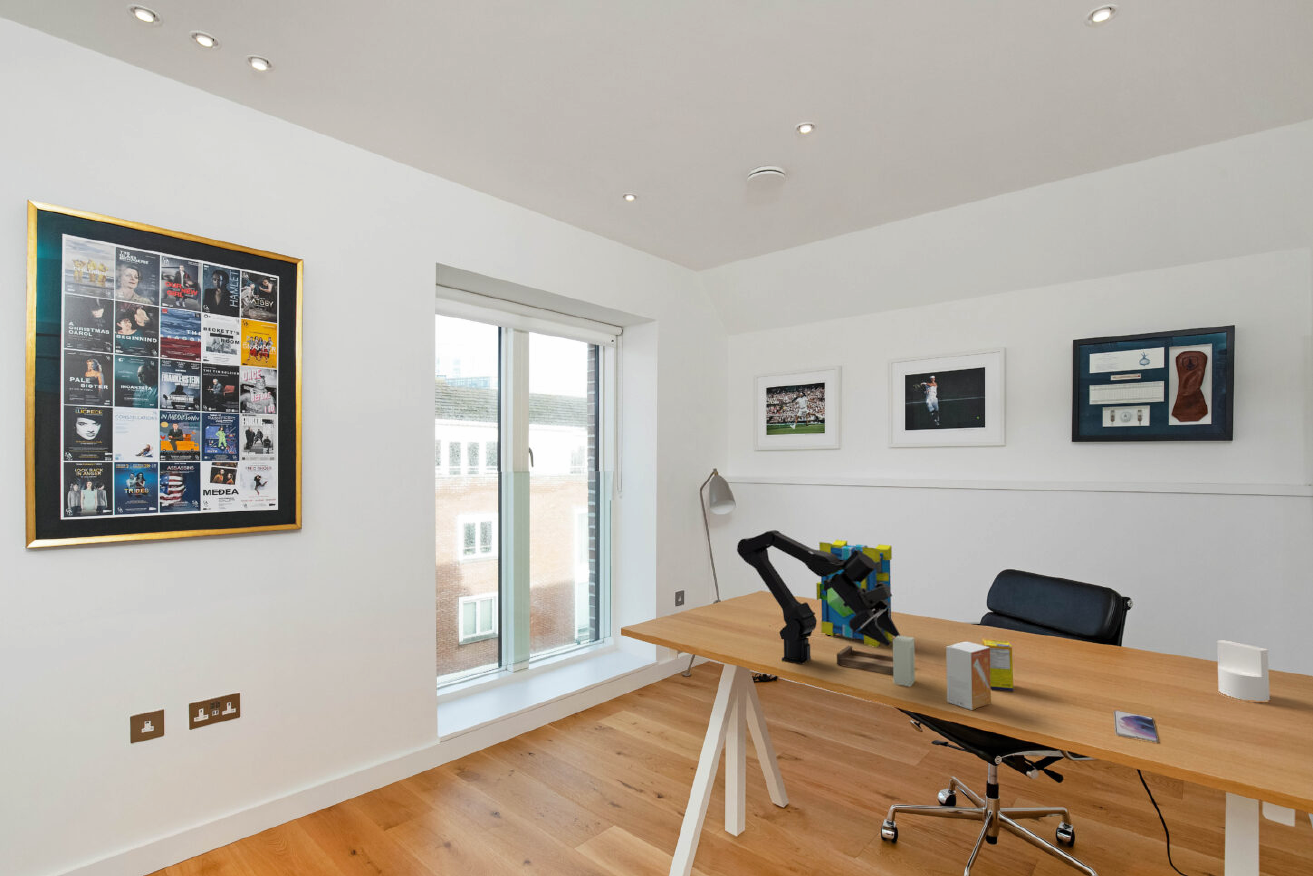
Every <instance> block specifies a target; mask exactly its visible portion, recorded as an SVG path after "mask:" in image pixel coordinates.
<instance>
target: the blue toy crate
mask: <svg viewBox="0 0 1313 876" xmlns="http://www.w3.org/2000/svg"><path fill="white" fill-rule="evenodd" d="M892 549H893V548H892V545H889V544H881V543H880V544H877V546H876V547H869V546H868V545H866V544H859V543H858V544H855V545H850V544H848V540H842V539H835V541H834V542H833V543H831V542H823V541H822V542H821V541H819V550H820V551H825V552H828V553H832V554H834V555H836V556H837V557H838V558H839V559H842V560H847V559H848V558H849V557H850V556H851V555H852V553H853V552H854V551H855V550H860V551H861V553H864V554H866V555H867V556H868V557H871V558H872V559H873V561H874V562H875V564H876V569H875V570H874V571H873V572H872V573H871V574H870V575H869V576H868V577H867V578H865V579H864V580H863V581H862V582H855V583H856V584H857V585H858V586H859V587H860V588H861V589H862V588H865V589H866V590H867V591H870V590H873V589H875V586H876V584H878V583H880V582H883V583H884V584H885V585H886V584H887V585H888V587H890V588H891V586H892V585H891V560H893V558H892V556H893V555H892ZM843 571H844V570H839V571H838V572H837V573H835V574H841V573H842V572H843ZM835 574H832V575H829V576H825V577H820V582H819V581H818V582H816V583H815V586H816V601H819V600H821V620H820V624H821V625H820V629H821V632H820V634H821V633H825V634H828V635H831V636H833V637H835V635H837V634H838V635H842V636H843V637H844V638H849V639H853V640H855V639H858V640H863V645H864V644H867V645H871V646H874V647H873V648H876V647H877V648H878V647H879V645H880V644H881V643H880V642H878V641H876V640H874V639H872V638H870V637H867V636H865V635H863V634H860V633H858V631H859V630H860V629H861V628H859V629H858V630H857V631H855V632H854V631H853V630H852V629H851V628H850V627H849V621H850V620H851V619H852V618H853V617H854V616H855V615H856V614H855V613H854V612H853V611H852V610H851V609H850V608H849V607H848V606H847V607H845V606H844V605H843V604H844V603H845V602H844V601H843V600H842V599H841V598H840V597H839V596H838V594H837V593H836V592H835V591H834V590H833V589H832V588H830V589H829V590H827V591H824V581H825V580H827V579H828V580H830V579H831V578H832V577H833V576H834V575H835ZM891 590H892V589H890V592H891ZM891 593H892V592H891ZM891 598H892V596H890V597H889V598H888V599H886V600H887V601H888V602H889V603H890V606H888V607H887V608H889V607H891V609H890V617H891V618H892V603H891V602H892V599H891ZM887 608H886V609H887ZM880 629H881V630H882V632H883V633H884V634H885V636H886V637H887V639H888V640H889V642H890V643H893V635H891V634H890V633H888V632H887V631H885V630H883V629H882V628H880ZM867 645H866V646H867ZM871 646H870V647H871Z"/></svg>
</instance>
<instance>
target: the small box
mask: <svg viewBox="0 0 1313 876" xmlns="http://www.w3.org/2000/svg"><path fill="white" fill-rule="evenodd" d="M945 649H946V651H945V652H946V654H945V655H946V699H947V701H946V702H947V703H949V704H952V705H955V706H958V707H962V708H964V709H967V710H971V711H973V710H975V709H977V708H981V707H984V706H986V704H987V705H990V704H992V693H991V692H992V691H991V690H992V689H991V674H990V647H987V646H983V644H979V643H974V642H970V641H962V642H957V643H954V644H951V645H947V646H946V648H945ZM989 703H990V704H989Z"/></svg>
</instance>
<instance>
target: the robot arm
mask: <svg viewBox="0 0 1313 876" xmlns="http://www.w3.org/2000/svg"><path fill="white" fill-rule="evenodd" d="M772 547H774V549H775V548H776V549H778V550H779V551H782V553H785V554H787V555H789V556H790V557H792V558H795V559H797V560H798V561H801V562H802V563H803V564H805V566H806V567H807V569H809V570H810V571H811V572H812V573H813V574H815V575H816V576H818V577H820V578H821V577H825V576H829V575H832V574H835V573H837V572H838V571H839V570H844V571H843V572H842V573H841V574H835V575H834V576H833V577H832V578H831V579H830V580H828V579H827V580H825V581H824V591H827V590H829V589H830V588H832V589H833V590H834V591H835V592H836V593H837V594H838V596H839V597H840V598H841V599H842V600H843V601H844V602H845V603H844V604H843V605H844V606H845V607H847V606H848V607H849V608H850V609H851V610H852V611H853V612H854V613H855V614H856V615H855V616H854V617H853V618H852V619H851V620H850V621H849V627H850V628H851V629H852V630H853V631H854V632H855V631H857V630H858V629H859V628H861V629H860V630H859V631H858V633H860V634H863V635H865V636H867V637H870V638H872V639H874V640H876V641H878V642H880V644H882V645H883V646H886V647H889V646H890V645H891V642H890V641H889V640H888V639H887V637H886V636H885V634H884V633H883V632H882V630H881V629H880V628H882V629H883V630H885V631H887V632H888V633H890V634H891V635H892V637H894V638H895V637H897V636H898V635H899V636H901V634H900V633H899V630H898V629H897V626H896V625H895V623H894V621H893V619H892V616H891V617H890V609H891V610H892V606H891V607H889V608H887V607H888V606H890V603H889V602H888V601H887V600H886V599H888V598H889V597H890V596H891V597H893V595H892V592H890V589H891V588H890V587H888V585H887V584H886V585H885V584H884V583H883V582H880V583H878V584H876V586H875V589H873V590H870V591H867V590H866V589H865V588H862V589H861V588H860V587H859V586H858V585H857V584H856V583H855V582H862V581H863V580H864V579H865V578H867V577H868V576H869V575H870V574H871V573H872V572H873V571H874V570H875V569H876V564H875V562H874V561H873V559H872V558H871V557H868V556H867V555H866V554H864V553H861V551H860V550H855V551H854V552H853V553H852V555H851V556H850V557H849V558H848V559H847V560H842V559H839V558H838V557H837V556H836V555H834V554H832V553H828V552H825V551H820V549H814V548H811V547H809V546H807V545H805V544H803V543H801V542H799V541H797V540H795V539H793V538H791V537H789V536H787V535H785V534H783V533H781V532H780V531H778V530H776V529H773V530H767V531H765V532H763V533H761V534H758V535H756V536H754V537H746V538H742V539H740V540H739V541H738V543H737V547H736V551H737V554H738V555H739V556H740V558H742V560H743V561H744V562H745V563H747V564H748V565H749V566H751V567H752V568H754V569H755V570H756V572H757V574H758V575H759V577H760V578H761V579H762V581H763V583H764V584H765V585H766V587H767V589H768V590H769V591H770V593H771V594H772V596H773V598H774V599H775V601H776V602H777V604H778V605H779V606H780V608H781V609H782V615H783V621H784V623H785V625H784V627H782V629H780V631H779V635H780V639H781V640H783V657H781V661H784V660H785V662H791V663H794V662H796V664H799V665H800V664H802V665H803V663H804V664H805V663H806V662H808V661H810V660H812V656H811V644H810V643H809V637H811V636H812V633H813V631H815V629H816V627H817V618H816V616H815V615H816V613H815V612H814V611H813V610H812V609H811V607H810V605H809V603H808V602H803V603H802V602H800V601H798V600H797V599H796V597H795V596H794V594H793V593H792V591H791V590H790V589H789V587H788V585H787V584H786V583H785V582H784V580H783V579H782V577H781V576H780V574H779V572H778V571H777V570H776V568H775V567H774V565H773V563H772V562H771V561H770V558H769V552H768V549H769V548H772ZM891 590H892V589H891ZM886 608H887V609H886Z"/></svg>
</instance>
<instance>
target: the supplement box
mask: <svg viewBox="0 0 1313 876" xmlns="http://www.w3.org/2000/svg"><path fill="white" fill-rule="evenodd" d="M981 643H982V644H981V645H983V646H987V647H990V674H991V690H995V691H996V690H998V691H1007V692H1008V691H1010V692H1014V672H1013V671H1014V668H1013V667H1014V664H1013V647H1012V645H1011V644H1010V642H1009V641H1008V640H999V639H989V638H988V639H986V638H982V641H981Z"/></svg>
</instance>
